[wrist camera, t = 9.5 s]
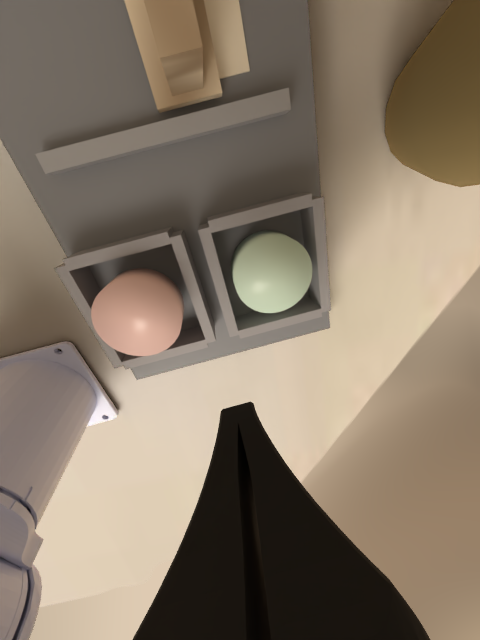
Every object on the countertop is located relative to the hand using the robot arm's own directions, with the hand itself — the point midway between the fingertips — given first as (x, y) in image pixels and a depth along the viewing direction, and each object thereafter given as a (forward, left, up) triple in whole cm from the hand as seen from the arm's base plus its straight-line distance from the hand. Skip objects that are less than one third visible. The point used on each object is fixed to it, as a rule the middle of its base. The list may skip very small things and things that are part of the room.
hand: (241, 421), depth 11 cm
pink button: (-4, +4, -6) cm, 9 cm away
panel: (0, +9, -9) cm, 13 cm away
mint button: (+3, +4, -7) cm, 9 cm away
